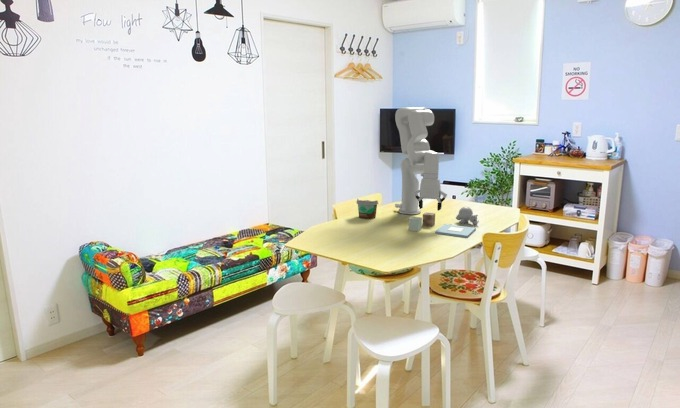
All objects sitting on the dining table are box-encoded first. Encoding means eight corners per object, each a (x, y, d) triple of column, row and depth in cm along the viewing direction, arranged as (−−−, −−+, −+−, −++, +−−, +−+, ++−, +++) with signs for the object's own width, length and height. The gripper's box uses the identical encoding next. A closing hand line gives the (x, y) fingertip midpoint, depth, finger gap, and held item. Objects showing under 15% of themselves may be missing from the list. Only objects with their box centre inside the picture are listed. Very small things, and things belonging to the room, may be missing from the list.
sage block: (408, 230, 252) (409, 218, 250) (412, 227, 256) (412, 216, 255) (418, 231, 249) (418, 219, 248) (421, 229, 254) (421, 217, 252)
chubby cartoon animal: (470, 231, 260) (477, 217, 256) (453, 218, 267) (458, 205, 263) (478, 228, 265) (484, 215, 260) (460, 216, 272) (466, 203, 267)
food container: (353, 218, 275) (353, 200, 273) (357, 215, 280) (357, 198, 278) (374, 220, 270) (374, 202, 268) (378, 218, 276) (378, 200, 274)
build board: (434, 233, 246) (435, 230, 246) (444, 225, 259) (444, 223, 259) (467, 237, 238) (467, 235, 238) (475, 229, 252) (475, 227, 252)
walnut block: (422, 225, 261) (422, 214, 259) (425, 223, 265) (426, 212, 264) (431, 226, 258) (432, 215, 257) (434, 224, 263) (435, 213, 261)
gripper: (412, 176, 257) (411, 209, 260) (445, 178, 248) (444, 212, 252) (417, 174, 263) (416, 206, 266) (449, 176, 255) (448, 209, 258)
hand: (429, 209), depth 259 cm, fingers open, 9 cm apart
